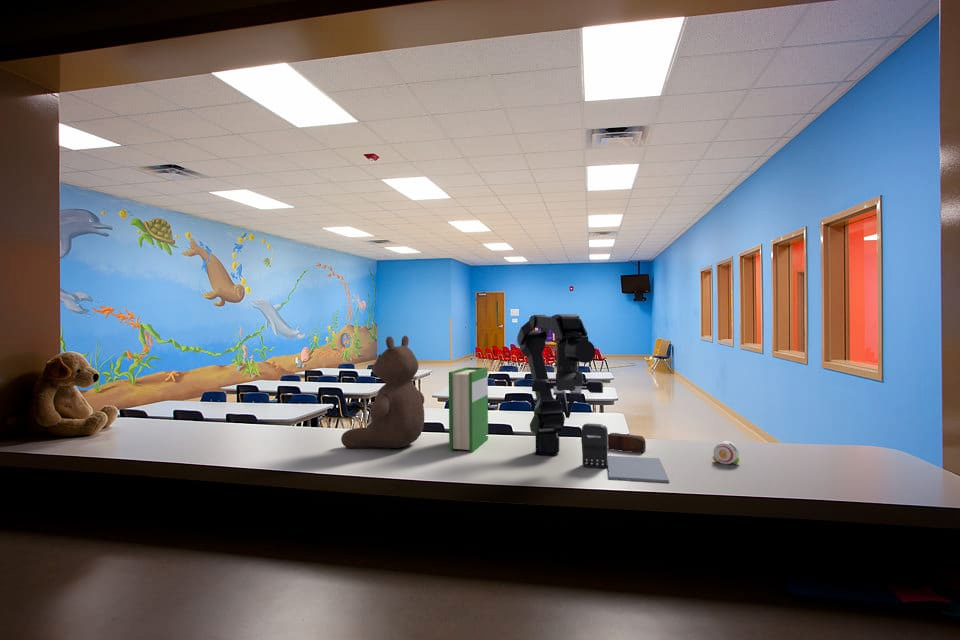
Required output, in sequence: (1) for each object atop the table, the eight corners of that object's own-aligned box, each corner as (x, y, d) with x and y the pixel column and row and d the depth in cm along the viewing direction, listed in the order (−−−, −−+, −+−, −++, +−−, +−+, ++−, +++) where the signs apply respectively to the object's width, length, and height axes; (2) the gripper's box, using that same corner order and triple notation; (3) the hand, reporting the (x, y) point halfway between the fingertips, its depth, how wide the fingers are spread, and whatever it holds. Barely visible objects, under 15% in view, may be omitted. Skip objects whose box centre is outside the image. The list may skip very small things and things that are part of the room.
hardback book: (472, 452, 150) (471, 372, 150) (449, 451, 152) (448, 372, 152) (488, 439, 166) (487, 367, 167) (466, 438, 169) (466, 367, 169)
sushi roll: (736, 467, 132) (736, 445, 132) (711, 463, 136) (710, 441, 136) (740, 463, 136) (740, 442, 136) (715, 459, 140) (715, 439, 140)
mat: (609, 479, 123) (609, 476, 123) (607, 457, 142) (607, 455, 142) (669, 482, 120) (669, 480, 120) (659, 460, 139) (659, 458, 139)
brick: (607, 450, 152) (607, 434, 152) (610, 447, 155) (610, 432, 155) (643, 454, 147) (643, 438, 147) (646, 451, 150) (645, 435, 150)
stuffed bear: (380, 433, 177) (377, 335, 178) (437, 437, 169) (435, 334, 170) (326, 454, 150) (324, 338, 151) (392, 459, 142) (389, 336, 143)
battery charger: (580, 467, 133) (580, 424, 133) (582, 464, 136) (581, 422, 137) (607, 470, 131) (607, 426, 131) (608, 466, 134) (608, 423, 134)
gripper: (528, 362, 130) (529, 422, 130) (602, 363, 125) (603, 425, 125) (534, 359, 141) (534, 414, 140) (602, 359, 136) (603, 416, 136)
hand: (567, 417), depth 135 cm, fingers closed
